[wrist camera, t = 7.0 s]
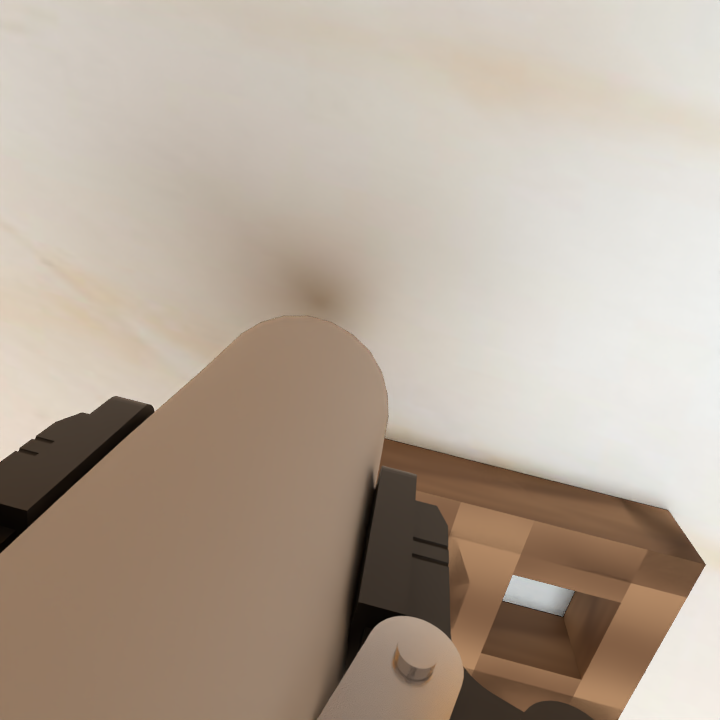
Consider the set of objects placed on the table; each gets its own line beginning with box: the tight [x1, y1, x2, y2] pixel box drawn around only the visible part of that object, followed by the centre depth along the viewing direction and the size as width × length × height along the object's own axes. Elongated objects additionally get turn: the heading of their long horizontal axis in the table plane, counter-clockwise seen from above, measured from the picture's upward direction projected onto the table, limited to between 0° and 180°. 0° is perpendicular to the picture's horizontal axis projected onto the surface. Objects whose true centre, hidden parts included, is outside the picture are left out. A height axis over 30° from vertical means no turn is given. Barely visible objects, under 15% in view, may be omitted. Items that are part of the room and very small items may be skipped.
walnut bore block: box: [376, 439, 706, 720], centre depth 25 cm, size 10×18×4 cm, turn 78°
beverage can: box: [0, 316, 388, 720], centre depth 9 cm, size 5×5×12 cm
